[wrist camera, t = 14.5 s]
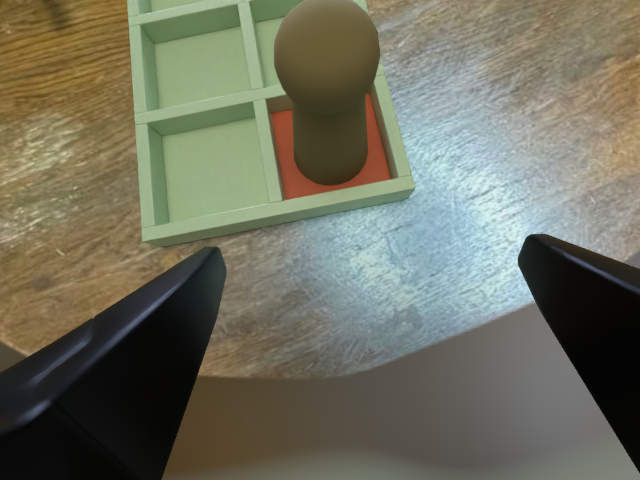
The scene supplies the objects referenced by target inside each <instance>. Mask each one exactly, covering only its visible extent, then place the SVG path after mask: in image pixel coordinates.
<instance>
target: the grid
mask: <svg viewBox="0 0 640 480" xmlns="http://www.w3.org/2000/svg"><path fill="white" fill-rule="evenodd" d="M303 1H306V0H127V6H128V17H129V18H128V21H129V36H130V51H131V67H132V83H133V98H134V113H135V115H134V116H135V125H136V126H135V129H136V145H137V160H138V176H139V191H140V207H141V222H142V241H143V242H146V243H150V244H153V245H157V246H160V247H165V246H170V245H175V244H180V243H185V242H190V241H195V240H200V239H206V238H211V237H216V236H221V235H226V234H231V233H236V232H241V231H246V230H252V229H257V228H262V227H267V226H272V225H277V224H282V223H287V222H293V221H298V220H303V219H308V218H313V217H318V216H323V215H328V214H333V213H339V212H344V211H349V210H354V209H359V208H364V207H369V206H374V205H380V204H385V203H390V202H395V201H400V200H405V199H408V198H409V196H410V195H411V194H412V192H413V191H414V189H415V184H414V180H413V176H411V175H412V174H411V170H410V166H409V162H408V159H407V155H406V151H405V147H404V144H403V140H402V136H401V132H400V129H399V125H398V121H397V117H396V114H395V110H394V106H393V102H392V99H391V95H390V91H389V87H388V84H387V80H386V76H385V72H384V68H383V65H382V61H381V57H380V60H379V65H378V69H377V73H376V77H375V80H374V82H373V84H372V85H371V87H370V89H369V90H368V92H367V93H366V95H365V98H366V118H367V139H368V156H367V160H366V164H365V165H364V167H363V168H362V170H361V171H360V173H359V174H358V175H356V176H355V177H354V178H353V179H351V180H350V181H348V182H345V183H343V184H340V185H331V186H326V185H321V184H317V183H314V182H313V181H311V180H309V179H307V178H306V177H305V176H304V175H303V174H302V173H301V172H300V171H299V169H298V167H297V165H296V163H295V160H294V147H293V121H292V100H291V99H290V98H289V96H288V95H287V94H286V93H285V91H284V90H283V88H282V86H281V84H280V81H279V79H278V77H277V74H276V71H275V67H274V41H275V38H276V35H277V32H278V29H279V27H280V24H281V22H282V20H283V19H284V18H285V17H286V15H287V14H288V13H289V11H290V10H291V9H293V8H294V7H296V6H297V5H298V4H300V3H301V2H303ZM351 1H353V2H355V3H357V4H358V5H359V6H360V7H361V8H363V9H364V10H365V11H366V12H367V13H368V15H369V12H368V8H367V5H366V1H365V0H351ZM369 17H370V16H369Z"/></svg>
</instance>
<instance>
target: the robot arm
mask: <svg viewBox="0 0 640 480" xmlns="http://www.w3.org/2000/svg"><path fill="white" fill-rule="evenodd" d="M518 265H519V268H520V270H521V272H522V274H523V276H524V278H525V281H526V283H527V285H528V287H529V289H530V291H531V293H532V295H533V297H534V300H535V302H536V304H537V306H538V308H539V309H540V311H541V313H542V315H543V317H544V318H545V320H546V322H547V323H548V325H549V326H550V328H551V330H552V331H553V333H554V335H555V336H556V338H557V339H558V341H559V343H560V344H561V346H562V348H563V349H564V351H565V352H566V354H567V356H568V357H569V359H570V361H571V362H572V364H573V365H574V367H575V369H576V370H577V372H578V374H579V375H580V377H581V379H582V380H583V382H584V383H585V385H586V387H587V388H588V390H589V392H590V393H591V395H592V396H593V398H594V400H595V401H596V403H597V405H598V406H599V408H600V410H601V411H602V413H603V414H604V416H605V418H606V419H607V421H608V423H609V424H610V426H611V427H612V429H613V431H614V432H615V434H616V436H617V437H618V439H619V440H620V442H621V444H622V445H623V447H624V448H625V450H626V452H627V453H628V455H629V457H630V458H631V460H632V462H633V463H634V465H635V467H636V468H637V470H638V471H639V473H640V269H638V268H635V267H633V266H630V265H627V264H625V263H622V262H619V261H617V260H614V259H611V258H609V257H606V256H603V255H601V254H598V253H595V252H593V251H590V250H587V249H585V248H582V247H579V246H577V245H574V244H571V243H568V242H566V241H563V240H560V239H558V238H555V237H552V236H550V235H547V234H531V235H529V236H527V237H526V239H525V241H524V244H523V246H522V249H521V251H520V254H519V256H518ZM225 278H226V266H225V263H224V260H223V256H222V253H221V250H220V248H219V247H217V246H212V247H204V248H202V249H200V250H199V251H197V252H196V253H194V254H192V255H191V256H189V257H188V258H186V259H185V260H183V261H181V262H180V263H178V264H177V265H175V266H173V267H172V268H170V269H169V270H167V271H166V272H164V273H162V274H161V275H159V276H158V277H156V278H155V279H153V280H151V281H150V282H148V283H147V284H145V285H143V286H142V287H140V288H139V289H137V290H136V291H134V292H132V293H131V294H129V295H128V296H126V297H125V298H123V299H121V300H120V301H118V302H117V303H115V304H113V305H112V306H110V307H109V308H107V309H106V310H104V311H102V312H101V313H99V314H98V315H96V316H95V317H94V319H93V318H92V319H90V320H88V321H87V322H85V323H83V324H82V325H80V326H79V327H77V328H76V329H74V330H72V331H71V332H69V333H67V334H66V335H64V336H62V337H61V338H59V339H58V340H56V341H54V342H53V343H51V344H49V345H48V346H46V347H44V348H42V349H41V350H39V351H37V352H36V353H34V354H32V355H30V356H29V357H27V358H25V359H24V360H22V361H20V362H18V363H16V364H15V365H13V366H11V367H10V368H8V369H6V370H4V371H3V372H1V373H0V480H161V479H162V476H163V473H164V470H165V467H166V465H167V462H168V459H169V456H170V453H171V450H172V447H173V444H174V441H175V439H176V436H177V433H178V430H179V427H180V424H181V421H182V418H183V415H184V412H185V410H186V407H187V403H188V401H189V398H190V395H191V392H192V389H193V386H194V383H195V381H196V377H197V375H198V372H199V369H200V366H201V363H202V360H203V357H204V354H205V351H206V349H207V346H208V343H209V340H210V337H211V334H212V331H213V328H214V325H215V322H216V319H217V315H218V311H219V306H220V302H221V297H222V292H223V288H224V283H225Z"/></svg>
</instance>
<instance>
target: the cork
mask: <svg viewBox="0 0 640 480" xmlns="http://www.w3.org/2000/svg"><path fill="white" fill-rule="evenodd" d="M379 60H380V48H379V40H378V32H377V30H376V28H375V26H374V24H373V22H372V20H371V19H370V17H369V15H368V13H367V12H366V11H365V10H364V9H363V8H361V7H360V6H359V5H358V4H357V3H355V2H353V1H351V0H306V1H303V2H301V3H300V4H298V5H297V6H296V7H294V8H293V9H291V10H290V11H289V13H288V14H287V15H286V17H285V18H284V19H283V20H282V22H281V24H280V27H279V29H278V32H277V35H276V38H275V41H274V67H275V71H276V74H277V77H278V79H279V81H280V84H281V86H282V88H283V90H284V91H285V93H286V94H287V95H288V96H289V98H290V99H291V100H292V121H293V147H294V160H295V163H296V165H297V167H298V169H299V171H300V172H301V173H302V174H303V175H304V176H305V177H306V178H307V179H309V180H311V181H313V182H314V183H317V184H321V185H326V186H331V185H340V184H343V183H345V182H348V181H350V180H351V179H353V178H354V177H355V176H356V175H358V174H359V173H360V171H361V170H362V168H363V167H364V165H365V164H366V160H367V156H368V139H367V118H366V98H365V95H366V93H367V92H368V90H369V89H370V87H371V85H372V84H373V82H374V80H375V77H376V73H377V69H378V65H379Z"/></svg>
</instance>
